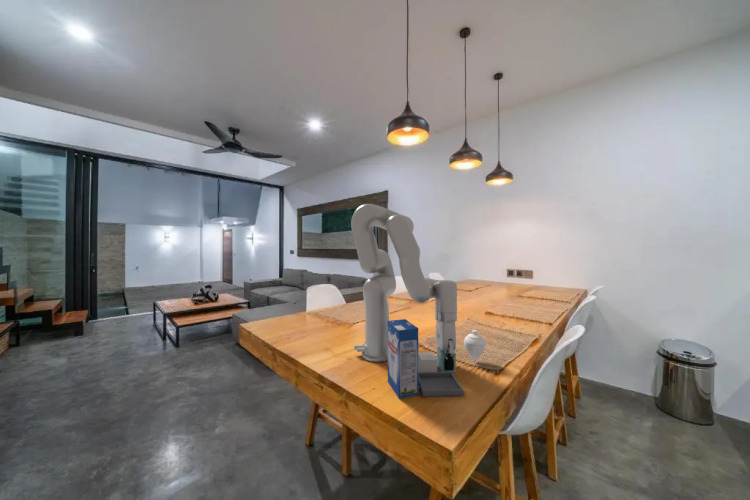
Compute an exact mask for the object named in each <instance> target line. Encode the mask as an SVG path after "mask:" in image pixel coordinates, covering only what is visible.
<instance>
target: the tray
mask: <svg viewBox="0 0 750 500" xmlns="http://www.w3.org/2000/svg"><path fill="white" fill-rule="evenodd" d="M419 391H420V393H421V396H422V398H440V397H441V398H443V397H444V398H446V397H447V398H449V397H464V396H465V394H464V392H465V390H464V388H463V386H462V385H461V384H460V382H459V381H458V379H457V377H456V376H455V375H454V372H441V371H440V372H438V371H437V372H429V373H419Z"/></svg>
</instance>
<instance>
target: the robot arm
mask: <svg viewBox="0 0 750 500" xmlns="http://www.w3.org/2000/svg"><path fill="white" fill-rule="evenodd" d="M350 221H351V223H350V227H351V232H352V236H353V239H354V242H355V248H356V253H357V256H358V258H357V259H358V262H359V266H360V268H361V270H362V271H363V272H364V273H366V274H373V275H372V277H369V278H368V279H366V281H365V282H364V284H363V287H362V295H363V303H364V321H365V322H364V323H365V325H364V327H365V328H364V329H365V331H364V334H365V336H364V337H365V341H364V343H362V344H354V345H353V347H354V348H353V350H354V351H356V353H361V357H362V359H364V360H366V361H368V362H372V363H380V362H381V363H382V362H386V361H387V362H388V346H387V321H390V308H389V307H390V306H389V303H388V297H390V296H391V295H393V294H394V292H395V291H396V289H397V281H396V274H395V272H394V268H393V264H392V260H391V257H390V255H389V253H388V252H387V251H386V250H384V249H381V248H379V246H378V242H377V237H376V235H375V233H374V231H373V227H378V228H380V229H383V230H385V231H387V233H388V236H389V238H390V241H391V243H392V245H393V248H394V249H395V252H396V254H397V257H398V262H399V268H400V269H399V270H400V274H401V278H402V281H403V283H404V286H405V288H406V290H407V293H408V294H409V297H410V298H411V299H412V300H413V301H414V302H415V303H419V304H424V303H426V302H428V301H429V300H431V299H434V301H435V303H434V305H435V306H434V320H435V336H434V337H435V339H434V340H435V343H436V345H437V347H439V348H440V349H441V350H442V351H445V358H444V369H445V370H454V355H455V353H456V352H455V351H456V349H457V332H456V331H457V330H456V322H457V321H458V285H457V283H456V281H453V280H449V279H448V280H447V279H445V280H444V279H442V280H439V279H433V278H425V276H424V273H423V271H422V267H421V264H420V257H421V249H420V247H419V244H418V242H417V240H416V238H415V235H414V232H413V231H414V227H415V226H414V225H415V224H414V223H413V221H412V219H411V218H410V216H409V217H408V216H407V215H404V214H401V213H399V212H395V211H394V210H391V209H389V208H386V207H383V206H380V205H377V204H373V203H364V204H361V205H360V206H357V208H356V209H355V210H354V212H353V215H352V216H351V220H350ZM447 348H449V350H446V349H447ZM448 351H450V352H449V353H448V355H447V352H448Z"/></svg>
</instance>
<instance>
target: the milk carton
mask: <svg viewBox="0 0 750 500" xmlns="http://www.w3.org/2000/svg"><path fill="white" fill-rule="evenodd" d="M387 346H388V360H387V384H388V385H389V386H390V388H391V389H392V390H393V392H394V394H395V396H397V398H398V399H399V400H401V399H406V398H412V397H416V396H419V394H420V393H419V391H420V388H419V367H418V353H419V328H418V327H417V326H415V324H413V323H412V322H410V321H408V320H407V318H403V319H393V320H389V321H387Z"/></svg>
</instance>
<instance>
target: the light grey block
mask: <svg viewBox="0 0 750 500" xmlns="http://www.w3.org/2000/svg"><path fill="white" fill-rule="evenodd" d="M418 367H419V373H429V372H441V371H440V369H439V367H438V366H437V356H436V355H435V354H434V352H418Z"/></svg>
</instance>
